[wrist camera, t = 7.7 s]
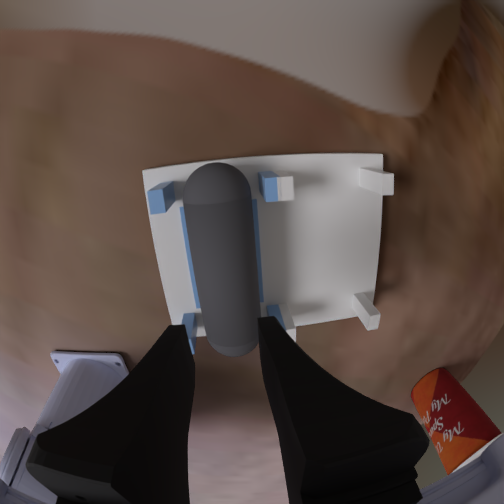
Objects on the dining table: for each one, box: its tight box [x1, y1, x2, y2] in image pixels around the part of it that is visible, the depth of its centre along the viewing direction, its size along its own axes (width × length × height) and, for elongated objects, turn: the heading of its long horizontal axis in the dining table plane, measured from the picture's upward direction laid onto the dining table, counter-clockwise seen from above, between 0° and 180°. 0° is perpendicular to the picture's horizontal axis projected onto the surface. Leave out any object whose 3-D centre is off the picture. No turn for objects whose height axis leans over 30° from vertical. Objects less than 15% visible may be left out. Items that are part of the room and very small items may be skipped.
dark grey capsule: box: [183, 162, 261, 357], centre depth 17 cm, size 12×4×4 cm, turn 5°
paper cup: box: [411, 368, 504, 475], centre depth 21 cm, size 8×8×14 cm
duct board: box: [142, 153, 394, 354], centre depth 18 cm, size 12×15×4 cm
